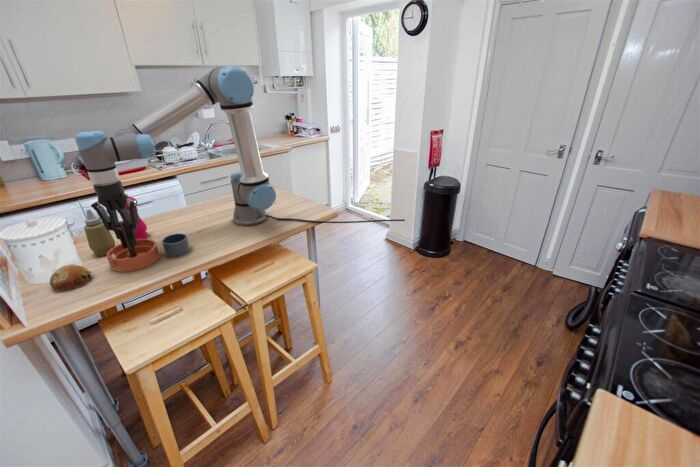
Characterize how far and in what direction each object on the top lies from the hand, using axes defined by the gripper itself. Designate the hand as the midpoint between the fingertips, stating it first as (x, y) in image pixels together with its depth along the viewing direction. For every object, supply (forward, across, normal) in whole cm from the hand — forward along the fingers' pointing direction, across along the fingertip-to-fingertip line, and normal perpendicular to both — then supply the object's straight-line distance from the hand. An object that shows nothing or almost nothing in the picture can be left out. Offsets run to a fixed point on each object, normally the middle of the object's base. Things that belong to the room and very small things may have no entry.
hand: (130, 246), depth 112 cm
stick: (+6, 0, 0) cm, 6 cm away
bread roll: (+8, +16, +8) cm, 20 cm away
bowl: (+8, +1, -3) cm, 8 cm away
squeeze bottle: (+8, +16, -12) cm, 22 cm away
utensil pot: (+8, -12, -8) cm, 16 cm away
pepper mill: (+8, +8, -23) cm, 25 cm away
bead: (+6, +3, -5) cm, 8 cm away
